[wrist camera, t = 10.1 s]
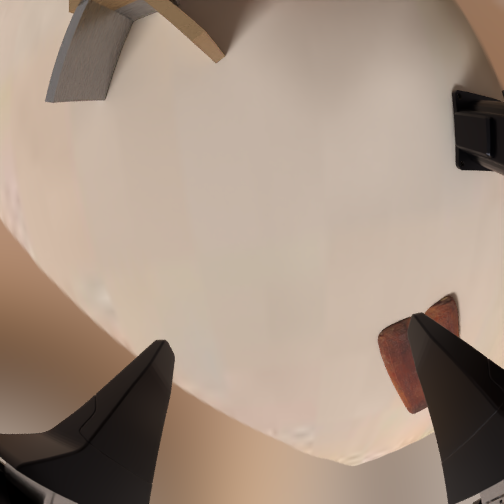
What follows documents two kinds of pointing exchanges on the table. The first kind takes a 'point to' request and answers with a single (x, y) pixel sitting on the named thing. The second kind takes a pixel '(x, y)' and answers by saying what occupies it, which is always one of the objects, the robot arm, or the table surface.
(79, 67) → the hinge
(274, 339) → the table surface
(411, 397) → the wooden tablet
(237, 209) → the table surface
